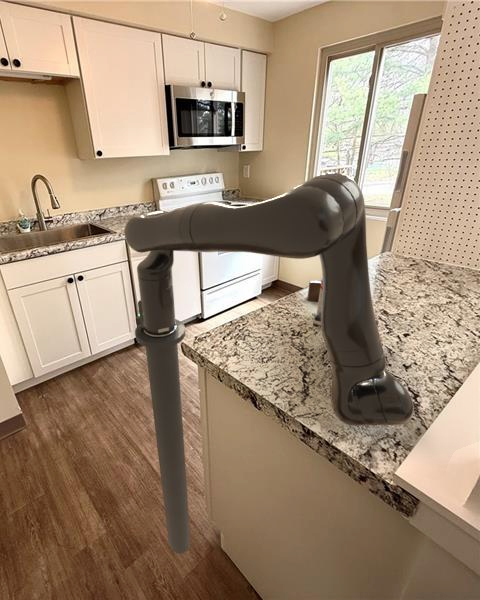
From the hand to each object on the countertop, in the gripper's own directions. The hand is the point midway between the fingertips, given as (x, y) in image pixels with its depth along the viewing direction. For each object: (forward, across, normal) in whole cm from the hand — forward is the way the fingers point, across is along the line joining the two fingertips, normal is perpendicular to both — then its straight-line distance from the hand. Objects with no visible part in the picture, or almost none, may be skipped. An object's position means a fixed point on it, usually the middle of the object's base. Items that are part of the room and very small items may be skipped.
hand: (338, 306), depth 77 cm
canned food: (+4, 0, +7) cm, 8 cm away
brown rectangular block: (+18, 0, +7) cm, 19 cm away
